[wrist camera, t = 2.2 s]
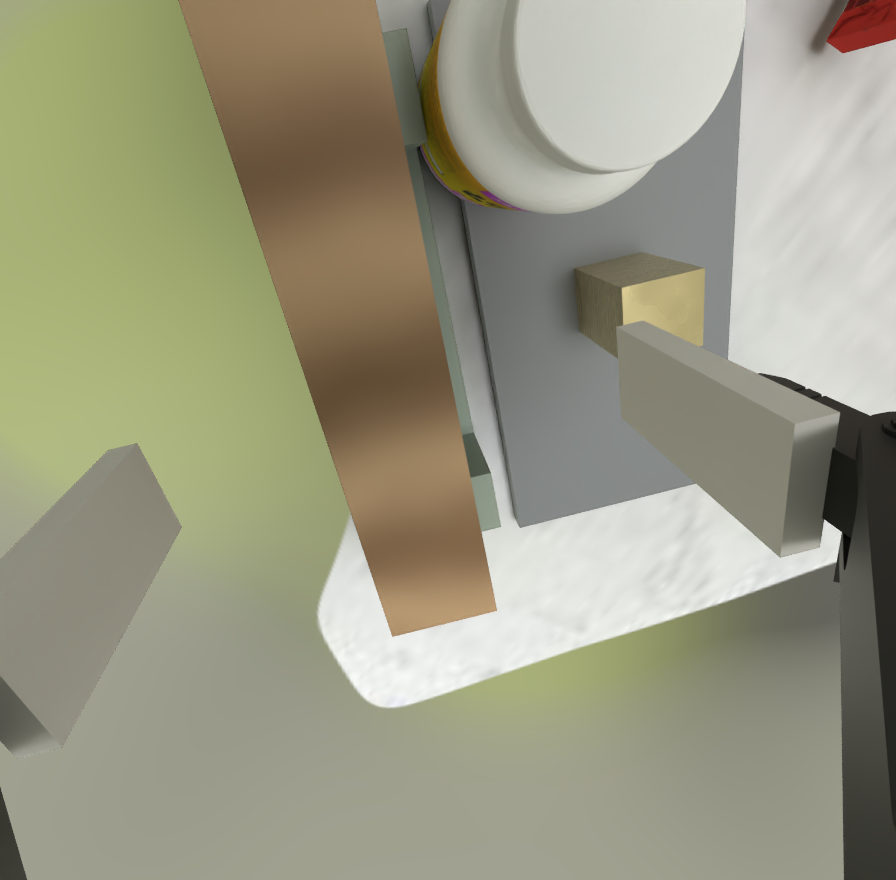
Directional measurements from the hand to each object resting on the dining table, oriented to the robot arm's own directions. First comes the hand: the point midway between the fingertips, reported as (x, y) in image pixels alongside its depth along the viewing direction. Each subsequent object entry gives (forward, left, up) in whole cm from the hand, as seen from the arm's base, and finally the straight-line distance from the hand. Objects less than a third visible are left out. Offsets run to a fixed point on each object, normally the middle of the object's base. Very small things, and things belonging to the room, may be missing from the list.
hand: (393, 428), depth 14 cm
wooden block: (+1, +11, -11) cm, 15 cm away
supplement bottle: (-7, +7, -12) cm, 15 cm away
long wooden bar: (0, 0, -7) cm, 7 cm away
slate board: (+1, +11, -12) cm, 16 cm away
